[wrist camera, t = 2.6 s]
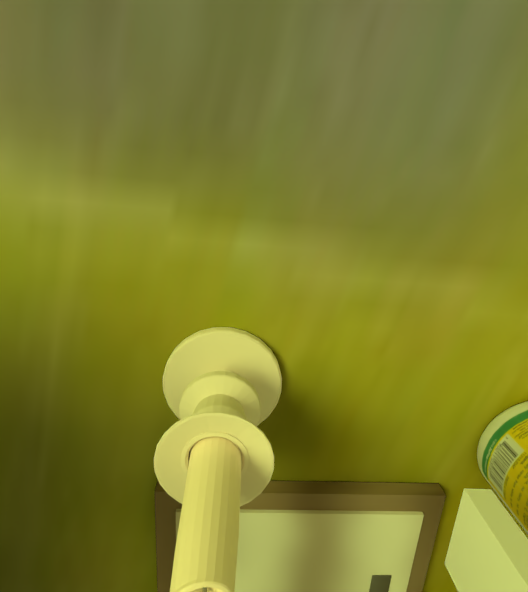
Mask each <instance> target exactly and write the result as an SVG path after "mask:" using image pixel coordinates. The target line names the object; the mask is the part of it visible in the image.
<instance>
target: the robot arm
mask: <svg viewBox="0 0 528 592" xmlns="http://www.w3.org/2000/svg"><path fill="white" fill-rule="evenodd" d="M445 566H446V568H447V570H448V572H449V574H450V576H451V578H452V580H453V582H454V584H455V586H456V588H457V590H458V592H528V539H527V537H526V536H525V535H524V533H523V532H522V531H521V529H520V528H519V527H518V525H517V524H516V522H515V521H514V520H513V518H512V517H511V516H510V514H509V513H508V512H507V510H506V509H505V507H504V506H503V505H502V503H501V502H500V501H499V499H498V498H497V497H496V495H495V494H494V493H493V491H492V490H491V489H464V491H463V494H462V498H461V502H460V506H459V510H458V513H457V517H456V521H455V525H454V529H453V532H452V536H451V540H450V544H449V548H448V552H447V555H446V559H445Z"/></svg>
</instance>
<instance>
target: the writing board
mask: <svg viewBox="0 0 528 592" xmlns="http://www.w3.org/2000/svg"><path fill="white" fill-rule="evenodd" d="M445 498H446V495H445V493H444V491H443V490H442V488H441V486H440V485H439V483H387V482H324V481H270V482H269V483H268V485H267V486H266V487H265V489H264V490H263V491H262V493H261V494H260V495H258V496H257V497H256V498H254V499H253V500H252V501H251V502H249V503H247V504H245V505H242V506H240V515H239V538H238V551H237V565H236V578H235V591H234V592H422V590H423V586H424V582H425V578H426V574H427V570H428V566H429V562H430V558H431V554H432V550H433V546H434V542H435V538H436V534H437V530H438V526H439V522H440V518H441V514H442V510H443V506H444V502H445ZM181 509H182V504H181V503H179V502H178V501H176V500H175V499H174V498H172V497H171V496H170V495H168V494H167V492H166V491H165V490H164V489H163V487H162V486H161V485H160V484H159V481H157V484H156V488H155V523H156V555H157V587H158V592H170V585H171V578H172V570H173V562H174V554H175V547H176V540H177V534H178V528H179V522H180V515H181Z"/></svg>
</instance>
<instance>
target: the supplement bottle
mask: <svg viewBox="0 0 528 592" xmlns="http://www.w3.org/2000/svg"><path fill="white" fill-rule="evenodd" d="M477 460H478V465H479V468H480V471H481V473H482V475H483V476H484V478H485V479H486V480H487V482H488V483H489V484H490V486H491V487H492V488H493V490H494V491H495V492H496V494H497V495H498V496H499V497H500V499H501V500H502V501H503V503H504V504H505V505H506V507H507V508H508V509H509V510H510V512H511V513H512V514H513V516H514V517H515V518H516V520H517V521H518V522H519V524H520V525H521V526H522V528H523V529H524V530H525V531H526V533H527V534H528V401H527V402H523V403H520V404H517V405H515V406H513V407H510V408H509V409H507V410H505V411H504V412H502V413H500V414H499V415H498V416H496V417H495V418H494V419H493V420H492V421H491V422H490V424H489V425H488V426H487V427H486V429H485V430H484V432H483V434H482V436H481V438H480V440H479V443H478V449H477Z"/></svg>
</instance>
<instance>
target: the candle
mask: <svg viewBox="0 0 528 592" xmlns="http://www.w3.org/2000/svg"><path fill="white" fill-rule="evenodd" d="M281 388H282V376H281V371H280V368H279V364H278V360H277V359H276V357H275V355H274V354H273V352H272V350H271V349H270V348H269V347H268V346H267V345H266V344H265V343H264V342H263V341H262V340H261V339H260V338H258V337H256V336H254V335H252V334H250V333H249V332H247V331H243V330H240V329H236V328H232V327H213V328H209V329H205V330H201V331H198V332H196V333H194V334H193V335H191V336H189V337H187V338H185V339H184V340H183V341H182V342H181V343H180V344H179V345H178V346H177V347H176V348H175V349H174V351H173V352H172V354H171V356H170V357H169V359H168V361H167V363H166V366H165V370H164V374H163V393H164V395H165V398H166V401H167V403H168V406H169V407H170V408H171V410H172V411H173V413H174V414H175V415H176V417H178V418H179V419H180V421H178V422H176V423H175V424H174V425H172V426H171V427H170V428H169V429H168V430H167V431H166V432H165V433H164V434H163V436H162V437H161V439H160V441H159V442H158V444H157V447H156V451H155V455H154V470H155V474H156V476H157V479H158V481H159V484H160V485H161V486H162V487H163V489H164V490H165V491H166V492H167V494H168V495H170V496H171V497H172V498H174V499H175V500H176V501H178V502H179V503H181V504H182V509H181V515H180V522H179V528H178V534H177V540H176V547H175V554H174V562H173V570H172V578H171V585H170V592H234V591H235V578H236V565H237V551H238V538H239V515H240V506H242V505H245V504H247V503H249V502H251V501H252V500H253V499H254V498H256V497H257V496H258V495H260V494H261V493H262V491H263V490H264V489H265V487H266V486H267V485H268V483H269V482H270V479H271V476H272V474H273V471H274V454H273V450H272V447H271V443H270V442H269V440H268V439H267V437H266V436H265V434H264V432H263V431H262V430H260V429H259V428H258V427H257V426H258V425H259V424H260V423H261V422H263V421H264V420H265V419H266V418H267V417H269V415H270V414H271V413H272V411H273V410H274V408H275V407H276V405H277V403H278V400H279V397H280V394H281Z"/></svg>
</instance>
